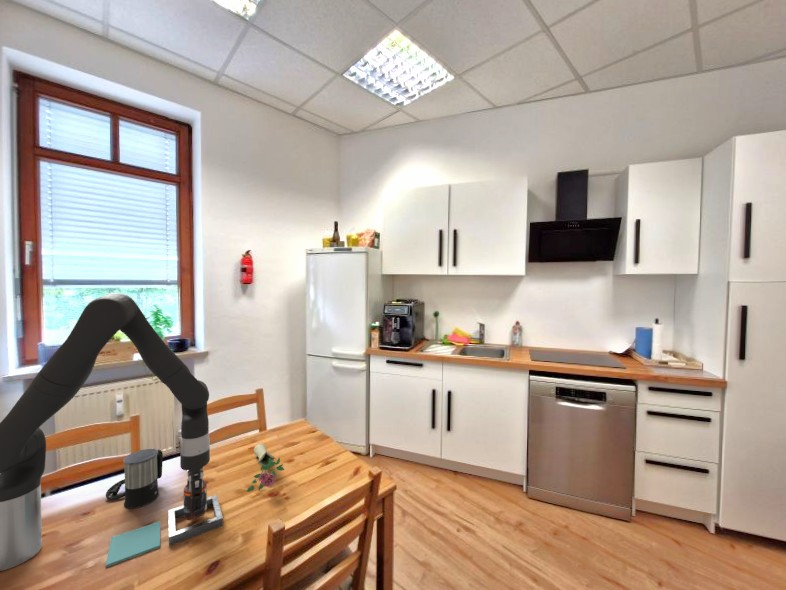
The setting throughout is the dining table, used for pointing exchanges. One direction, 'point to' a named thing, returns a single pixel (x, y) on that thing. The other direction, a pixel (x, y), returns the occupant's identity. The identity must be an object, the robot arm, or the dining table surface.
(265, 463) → the flower vase
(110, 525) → the dining table surface
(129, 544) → the teal mat
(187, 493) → the supplement bottle
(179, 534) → the grey square frame
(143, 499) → the milk frother
